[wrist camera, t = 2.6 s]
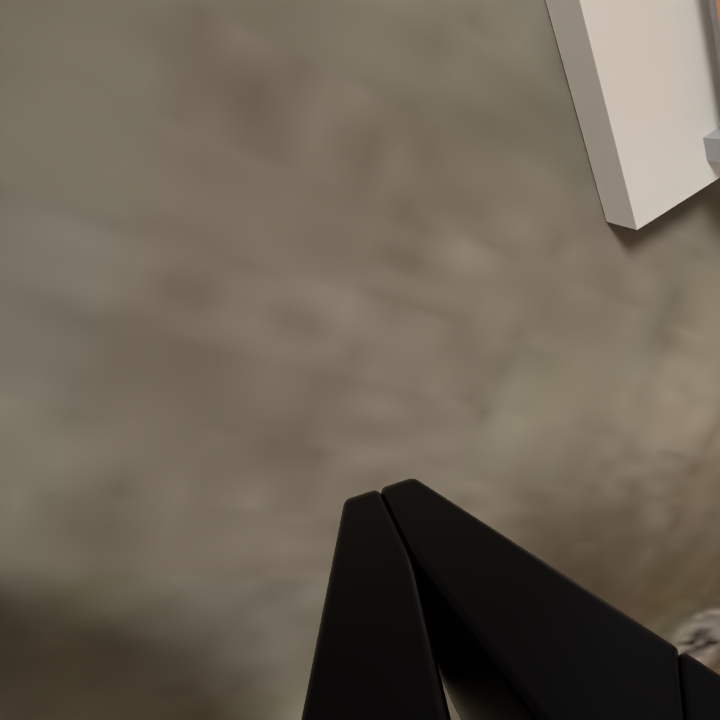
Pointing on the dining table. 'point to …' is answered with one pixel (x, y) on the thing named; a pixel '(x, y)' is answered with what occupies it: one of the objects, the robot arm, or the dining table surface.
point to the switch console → (643, 99)
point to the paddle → (716, 24)
